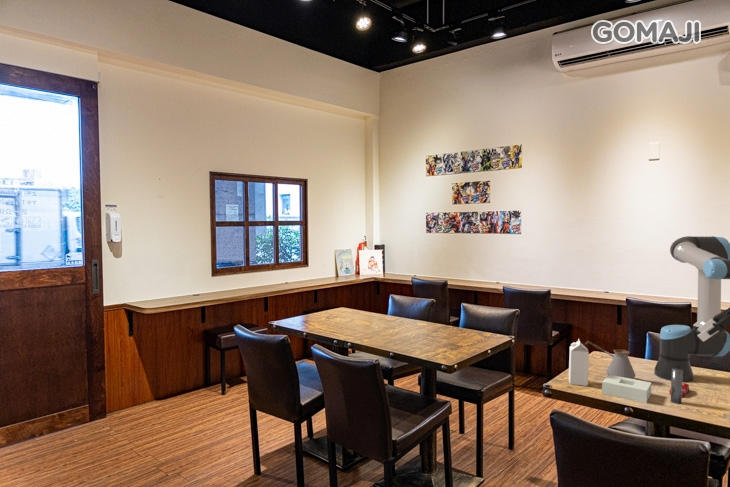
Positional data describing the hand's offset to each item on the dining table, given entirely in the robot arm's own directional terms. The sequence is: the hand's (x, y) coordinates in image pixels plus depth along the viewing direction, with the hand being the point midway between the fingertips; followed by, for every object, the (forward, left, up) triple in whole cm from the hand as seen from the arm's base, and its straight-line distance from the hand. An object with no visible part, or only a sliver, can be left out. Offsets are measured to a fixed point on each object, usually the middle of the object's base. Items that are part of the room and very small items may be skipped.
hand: (700, 335), depth 183 cm
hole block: (+14, -20, -28) cm, 37 cm away
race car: (-8, -12, -28) cm, 32 cm away
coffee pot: (+1, -38, -28) cm, 47 cm away
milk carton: (+21, -38, -28) cm, 51 cm away
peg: (+4, -6, -28) cm, 28 cm away
